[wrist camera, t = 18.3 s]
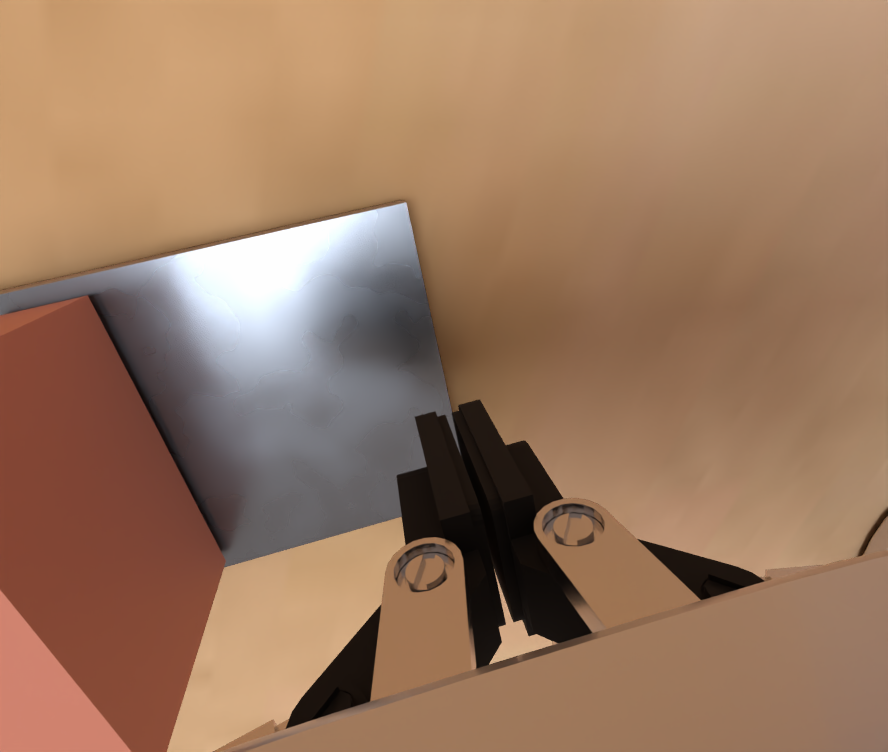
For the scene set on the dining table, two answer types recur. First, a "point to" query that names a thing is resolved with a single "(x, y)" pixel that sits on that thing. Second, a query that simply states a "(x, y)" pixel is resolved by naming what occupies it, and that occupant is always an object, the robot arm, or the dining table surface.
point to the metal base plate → (278, 370)
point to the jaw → (91, 547)
